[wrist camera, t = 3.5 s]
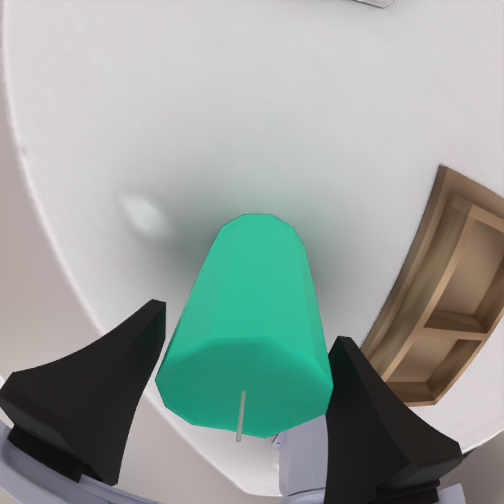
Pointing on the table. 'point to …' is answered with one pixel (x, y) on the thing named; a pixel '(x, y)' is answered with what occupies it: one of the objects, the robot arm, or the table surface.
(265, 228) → the candle
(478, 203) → the divided wooden tray
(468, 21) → the table surface
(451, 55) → the table surface
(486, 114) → the table surface
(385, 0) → the syrup box
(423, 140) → the table surface
